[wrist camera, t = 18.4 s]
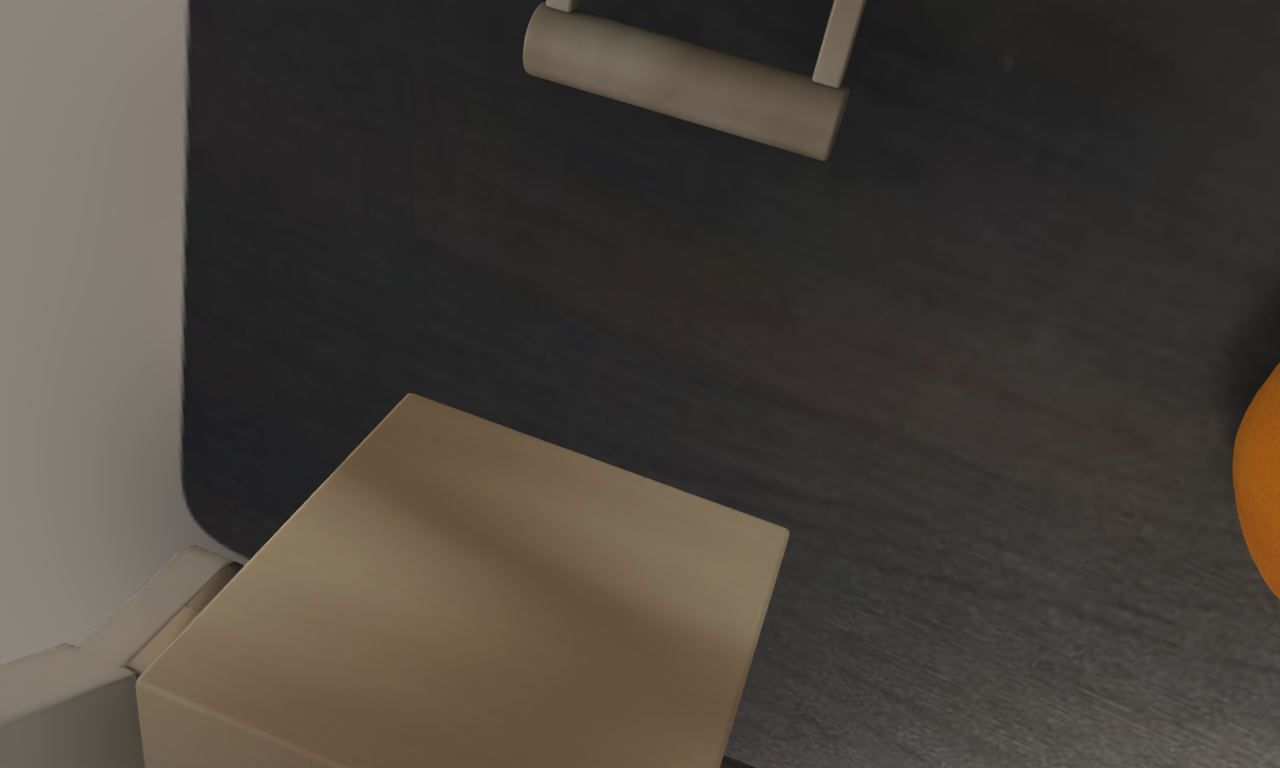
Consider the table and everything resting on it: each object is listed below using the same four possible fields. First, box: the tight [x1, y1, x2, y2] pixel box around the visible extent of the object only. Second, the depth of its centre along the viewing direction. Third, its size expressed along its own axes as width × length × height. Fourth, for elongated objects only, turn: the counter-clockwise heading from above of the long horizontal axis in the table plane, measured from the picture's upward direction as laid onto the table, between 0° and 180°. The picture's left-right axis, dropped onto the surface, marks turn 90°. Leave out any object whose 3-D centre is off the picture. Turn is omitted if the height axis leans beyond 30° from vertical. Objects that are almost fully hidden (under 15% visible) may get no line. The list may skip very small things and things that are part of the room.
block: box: [135, 393, 790, 768], centre depth 11 cm, size 4×4×4 cm
